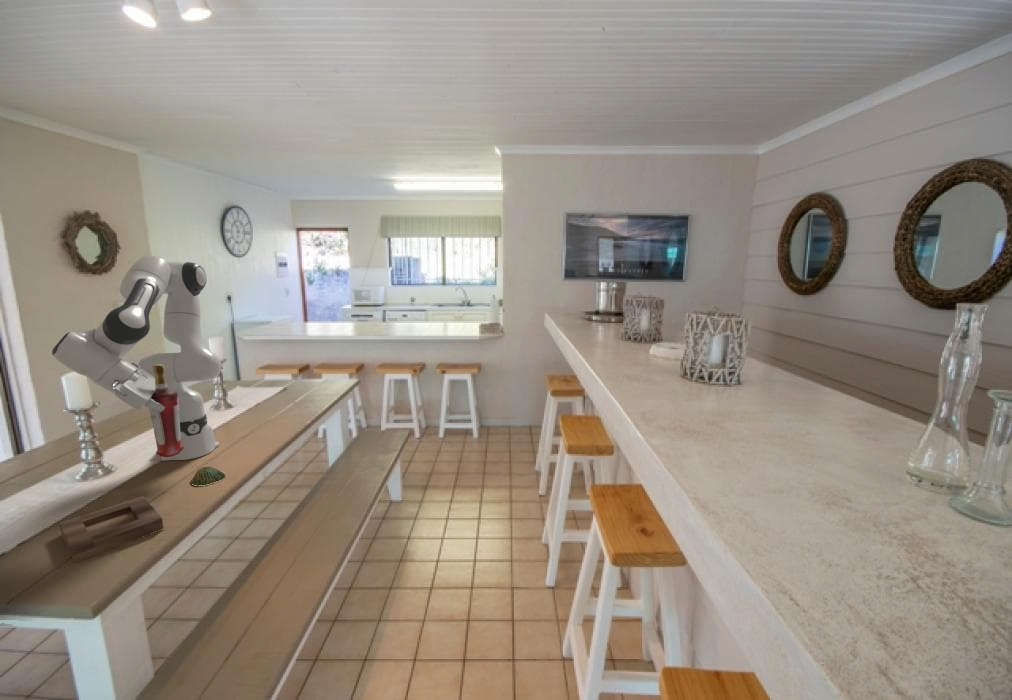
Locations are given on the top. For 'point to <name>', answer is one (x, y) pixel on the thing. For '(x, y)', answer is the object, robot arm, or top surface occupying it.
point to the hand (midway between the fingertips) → (166, 405)
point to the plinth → (109, 528)
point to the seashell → (207, 476)
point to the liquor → (166, 416)
